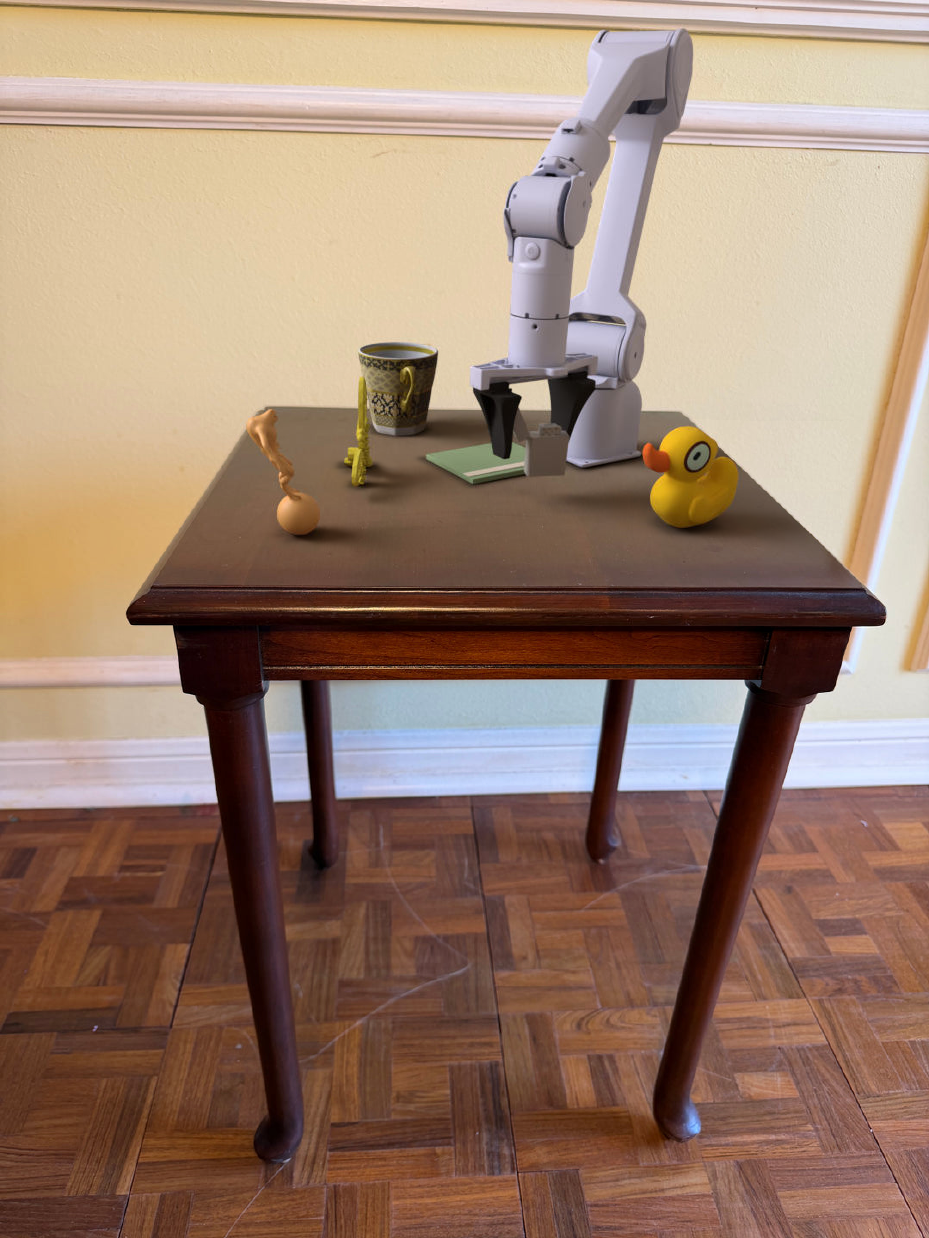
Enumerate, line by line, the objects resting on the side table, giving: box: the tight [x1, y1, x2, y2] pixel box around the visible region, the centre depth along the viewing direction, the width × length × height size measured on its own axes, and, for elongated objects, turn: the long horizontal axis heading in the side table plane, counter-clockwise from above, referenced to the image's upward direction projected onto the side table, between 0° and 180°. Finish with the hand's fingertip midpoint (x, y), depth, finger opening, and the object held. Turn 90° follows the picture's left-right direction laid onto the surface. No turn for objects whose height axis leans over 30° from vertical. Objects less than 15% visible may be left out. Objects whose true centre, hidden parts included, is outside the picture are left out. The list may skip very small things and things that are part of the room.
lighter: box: [513, 407, 569, 477], centre depth 90 cm, size 7×2×8 cm, turn 101°
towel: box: [425, 441, 526, 485], centre depth 103 cm, size 12×10×1 cm
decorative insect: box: [343, 376, 374, 487], centre depth 97 cm, size 13×3×10 cm
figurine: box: [245, 408, 321, 536], centre depth 80 cm, size 8×6×12 cm
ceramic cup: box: [357, 341, 439, 437], centre depth 111 cm, size 13×10×10 cm
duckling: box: [642, 425, 739, 529], centre depth 86 cm, size 11×5×10 cm, turn 115°
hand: (530, 451), depth 91 cm, fingers closed on lighter, 7 cm apart
